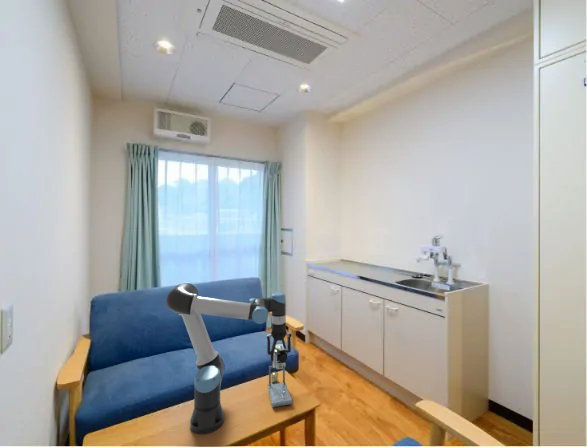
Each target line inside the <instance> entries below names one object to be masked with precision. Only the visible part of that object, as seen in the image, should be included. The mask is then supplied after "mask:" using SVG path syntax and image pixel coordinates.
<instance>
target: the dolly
mask: <svg viewBox="0 0 587 447" xmlns="http://www.w3.org/2000/svg"><path fill="white" fill-rule="evenodd" d="M285 368H286V366H285V367H284V365H283V369H282V382H278V383H277V384H272V383H271V373H272V372H271V371H272V369H277V368H276V367H275V368H273V365H269V366H268V385H267V390H268V395H269V399H270V403H271V407H272V409H276V408H277V407H280V406H286V405H287V407H291V405H292V404H293V400H292V397H291V394H290V391H289V389H288V385H287V383H286V369H285Z"/></svg>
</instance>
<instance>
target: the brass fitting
mask: <svg viewBox="0 0 587 447" xmlns="http://www.w3.org/2000/svg"><path fill="white" fill-rule="evenodd" d="M278 383H279V373H278V372H277V371H273V372H271V384H278Z"/></svg>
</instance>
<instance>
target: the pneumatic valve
mask: <svg viewBox="0 0 587 447" xmlns="http://www.w3.org/2000/svg"><path fill="white" fill-rule="evenodd" d="M287 349H288V348H287V347H286V348H284V347H283V344H282V343H276V346H275V350H274V355H275V367H276V368H275V369H276V370H283V363H285V364H287V361H288V354H287Z"/></svg>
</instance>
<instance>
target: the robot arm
mask: <svg viewBox="0 0 587 447" xmlns="http://www.w3.org/2000/svg"><path fill="white" fill-rule="evenodd" d="M165 303H166V306H167V308H168V309H169V310H170V311H172V312H173V313H176V314H177V315H178V316H181V317H182V321H183V324H184V325H185V328H186V331H187V334H188V337H189V339H190V342H191V345H192V348H193V350H194V353H195V356H196V358H197V360H196V362H195V365H196V367H197V371H196V373H195V375H194V378H193V386H194V387H193V388H194V390H193V393H194V394H193V395H194V396H193V397H194V401H193V403H194V405H193V406H194V407H193V410H192V414H191V417H190V421H189V422H190V424H189V426H190V429H191V431H192V432H194V433H195V434H200V435H205V434H210V433H212V432H214V431H216V430H218V429H219V428H221V426H222V425H223V423H224V422H225V413H224V412H225V411H224V409H223V407H222V403H221V387H222V386H221V384H222V380H223V377H224V376H223V375H224V373H225V367H226V365H225V360H224V358H223V357H222V356H221V355H220V354H219V352H218V351H217V350H215V349H214V347H213V344H212V343H213V342H212V341H211V338H210V335H209V333H208V331H207V328H206V324H205V321H204V320H203V317H202V315H207V316H214V317H223V318H232V319H238V320H239V319H240V320H248V321H253V322H254V323H255V324H256V325H257V324H258V325H261V324H264V323H266V322H267V320H268V317H269V313H271V332H270V333H269V334H266V335H265V337H266V352H267V355H268V356H269V355H270V361H271V362H272V366H273V368H272V369H276V368H275V365H276V359H275V355H274V350H275V346H276V344H278V343H277V342H279V341H280V342H281V344H283V347H284V348H286V349H287V355H288V354H290V353H291V349H292V348H291V346H292V345H291V343H292V342H291V337H292V333H291V332H287V323H286V321H287V320H286V315H287V314H286V312H287V310H286V307H287V306H286V305H287V303H286V295H285V294H284V293H283V292H273V293H272V294H271V297H255V298H249V300H248V302H242V301H237V300H236V301H235V300H226V299H221V298H220V299H219V298H213V297H206V296H199V290H198V287H197V286H196V285H195V284H194V283H192V282H188V281H185V282H182V283H179V284H178V285H176V286H175V287H174V288H173V289H171V290H170V291H169V292H168V294H167V295H166V298H165ZM285 337H286V339H287V342H286V341H285ZM271 339H273V341H272V346H271ZM285 342H286V343H285ZM286 344H287V346H286ZM283 365H284V367H285V368H286V363H283Z"/></svg>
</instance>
